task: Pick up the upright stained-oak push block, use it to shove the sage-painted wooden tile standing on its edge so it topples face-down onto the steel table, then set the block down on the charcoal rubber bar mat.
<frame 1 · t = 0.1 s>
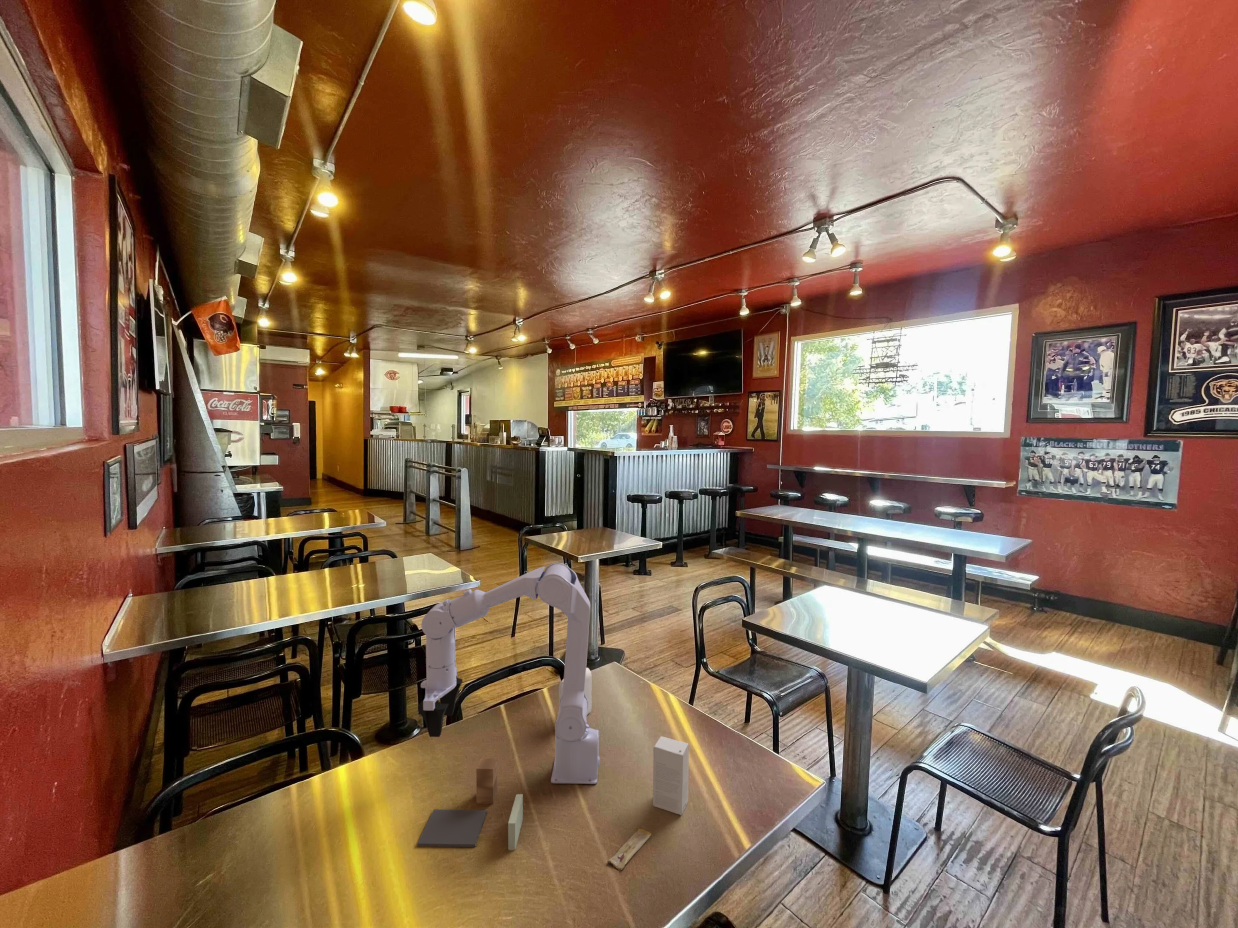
hand: (441, 724, 108), 10 cm above the table, fingers open, 7 cm apart
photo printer: (575, 719, 129), on the table
sage tile: (515, 834, 92), on the table
oak push block: (486, 797, 101), on the table
skincare box: (670, 804, 100), on the table
bar mat: (453, 828, 93), on the table
snack bar: (630, 852, 89), on the table
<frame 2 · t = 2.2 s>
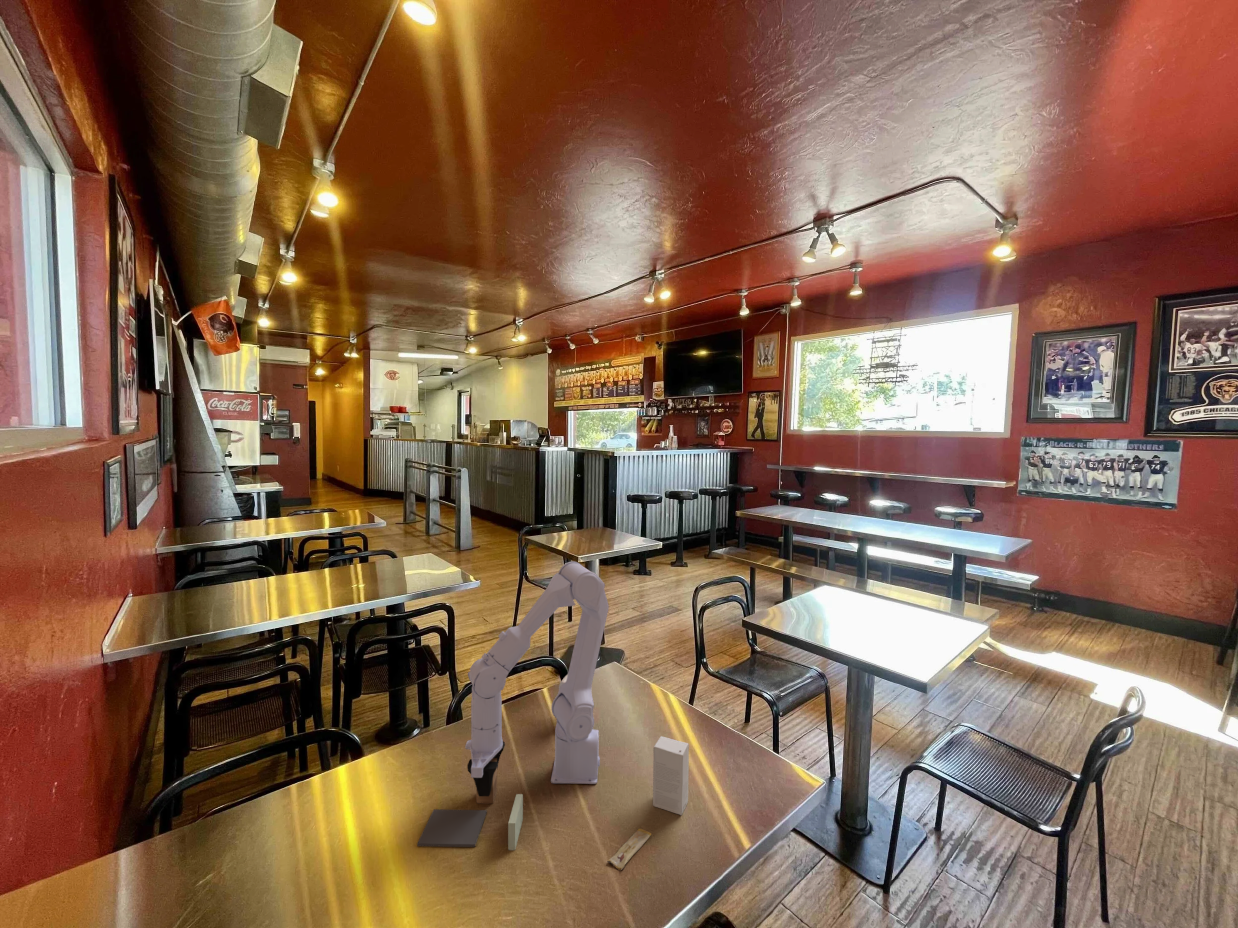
hand: (486, 787, 101), 2 cm above the table, fingers closed on oak push block, 3 cm apart
oak push block: (486, 797, 101), on the table, touching gripper
everything else where it was.
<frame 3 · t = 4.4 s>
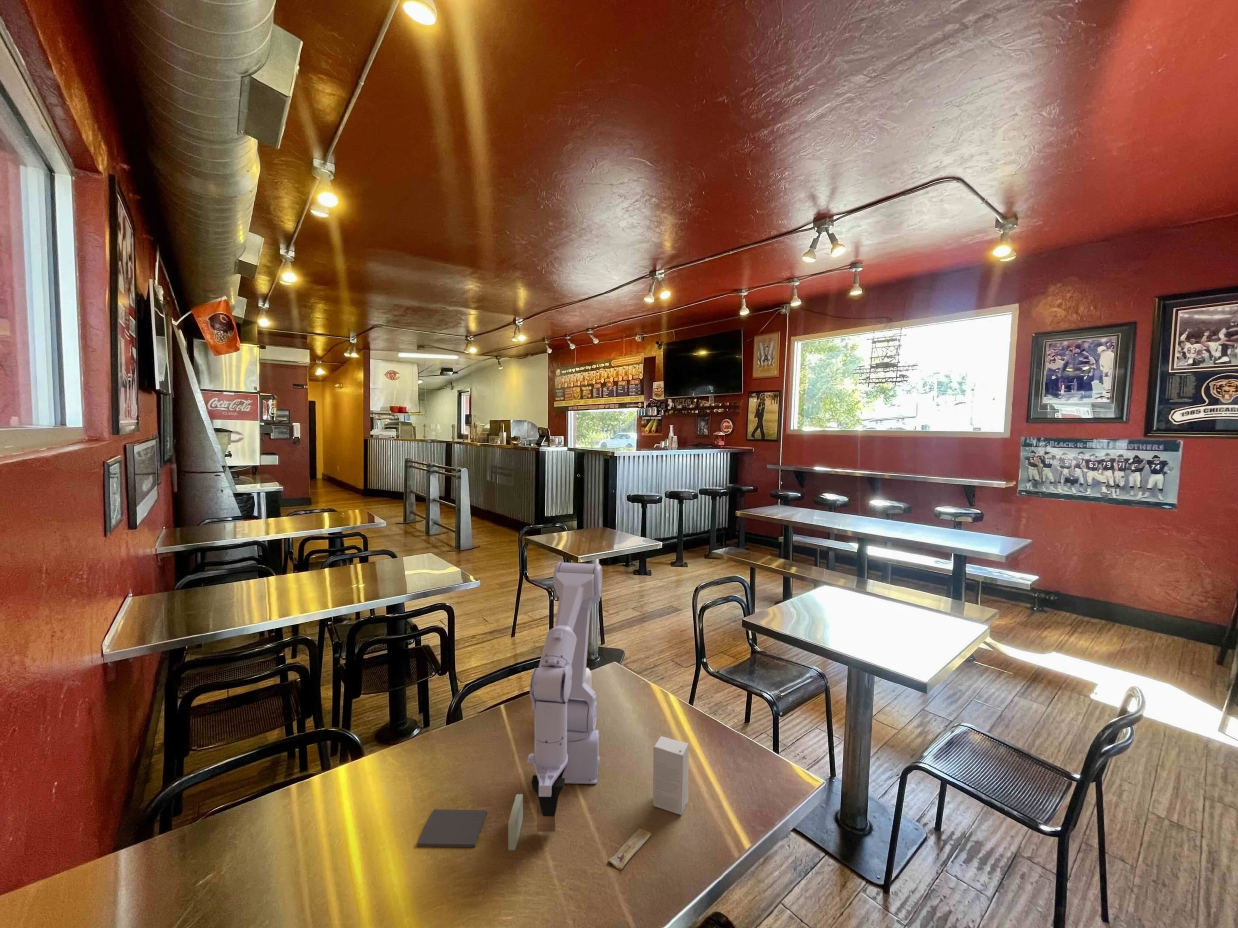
hand: (550, 806, 92), 5 cm above the table, fingers closed on oak push block, 3 cm apart
oak push block: (547, 824, 92), point 2 cm above the table, touching gripper
everything else where it was.
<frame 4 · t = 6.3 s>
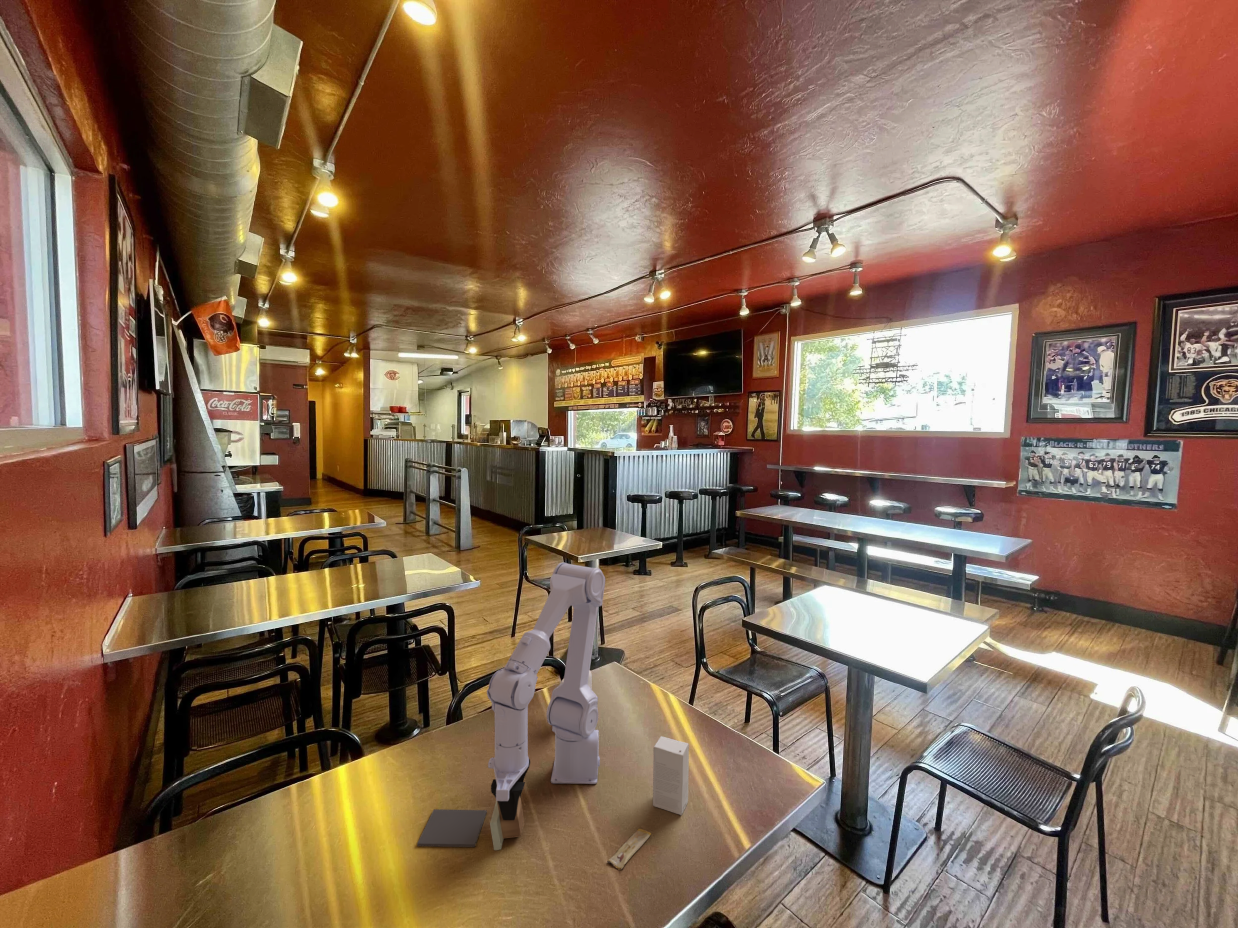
hand: (511, 810, 92), 4 cm above the table, fingers closed on oak push block, 3 cm apart
sage tile: (501, 833, 92), on the table, tilted 8°
oak push block: (513, 830, 92), point 1 cm above the table, tilted 8°, touching gripper
everything else where it was.
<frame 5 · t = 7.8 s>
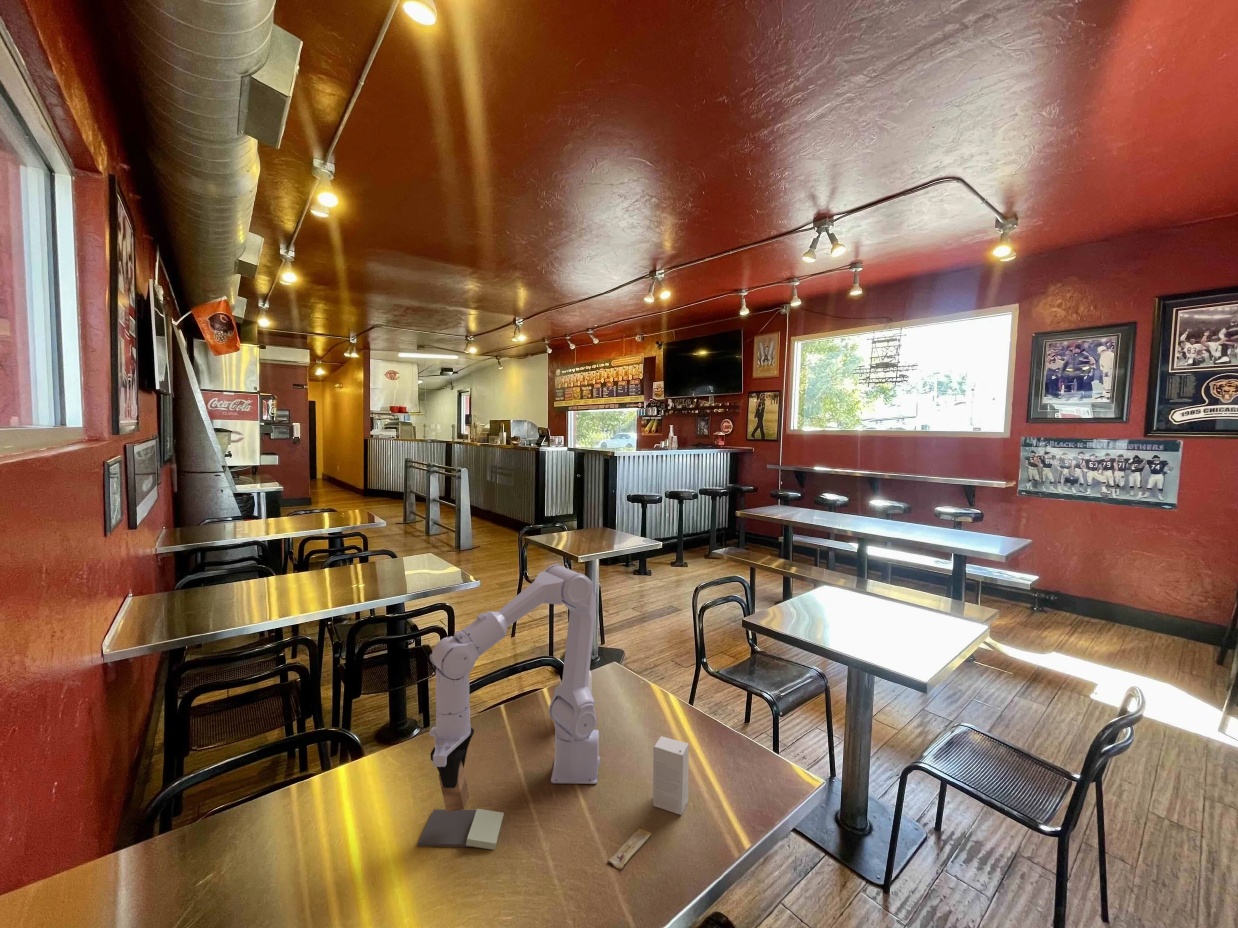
hand: (453, 779, 93), 9 cm above the table, fingers closed on oak push block, 3 cm apart
sage tile: (499, 830, 92), point 1 cm above the table, tilted 80°, touching bar mat
oak push block: (458, 804, 93), point 5 cm above the table, tilted 11°, touching gripper
everything else where it was.
when the fingers open (3 cm above the table, at t = 9.3 s): oak push block stays where it is, resting on bar mat.
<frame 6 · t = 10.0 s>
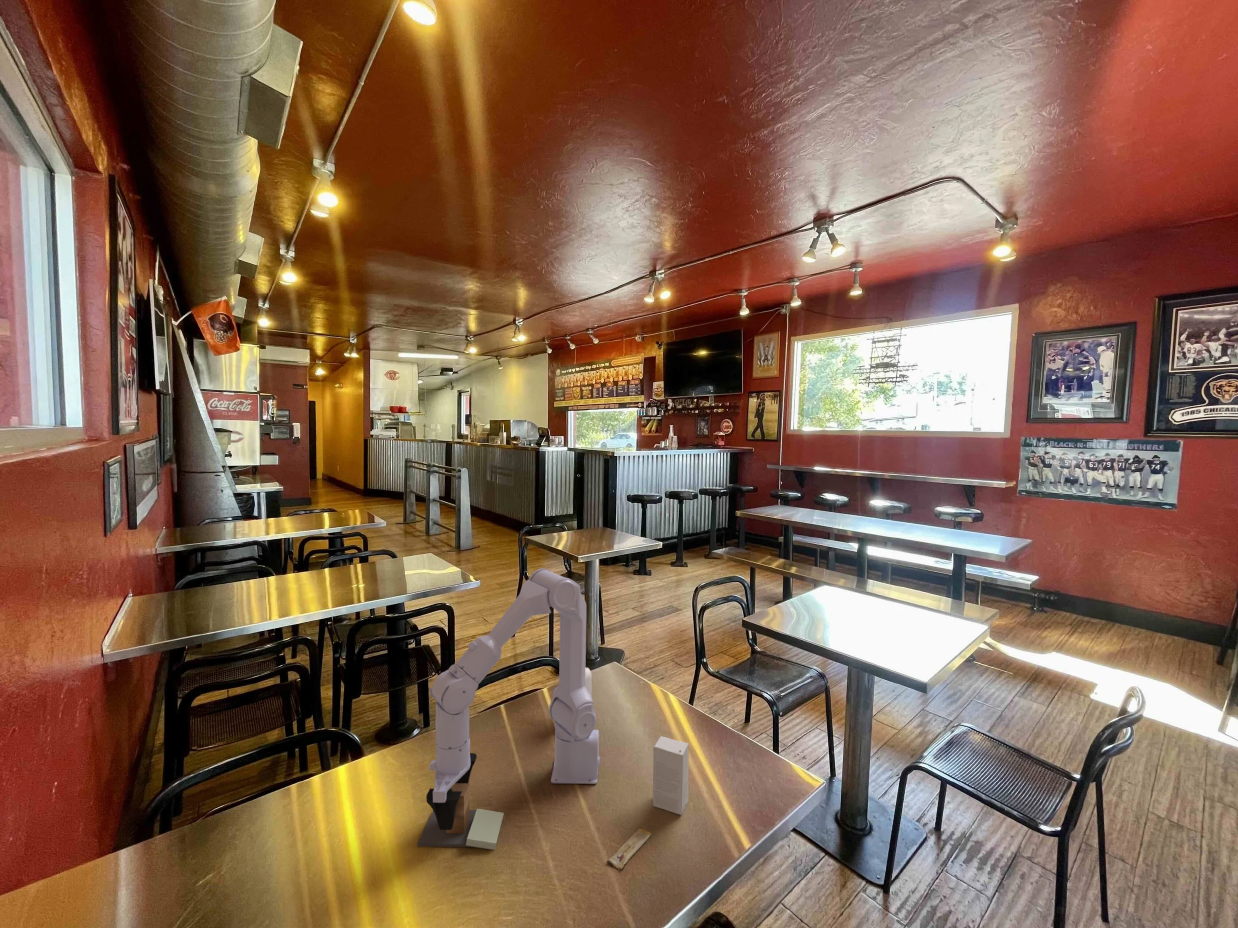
hand: (453, 811, 93), 3 cm above the table, fingers open, 7 cm apart
oak push block: (458, 826, 93), resting on bar mat
everything else where it was.
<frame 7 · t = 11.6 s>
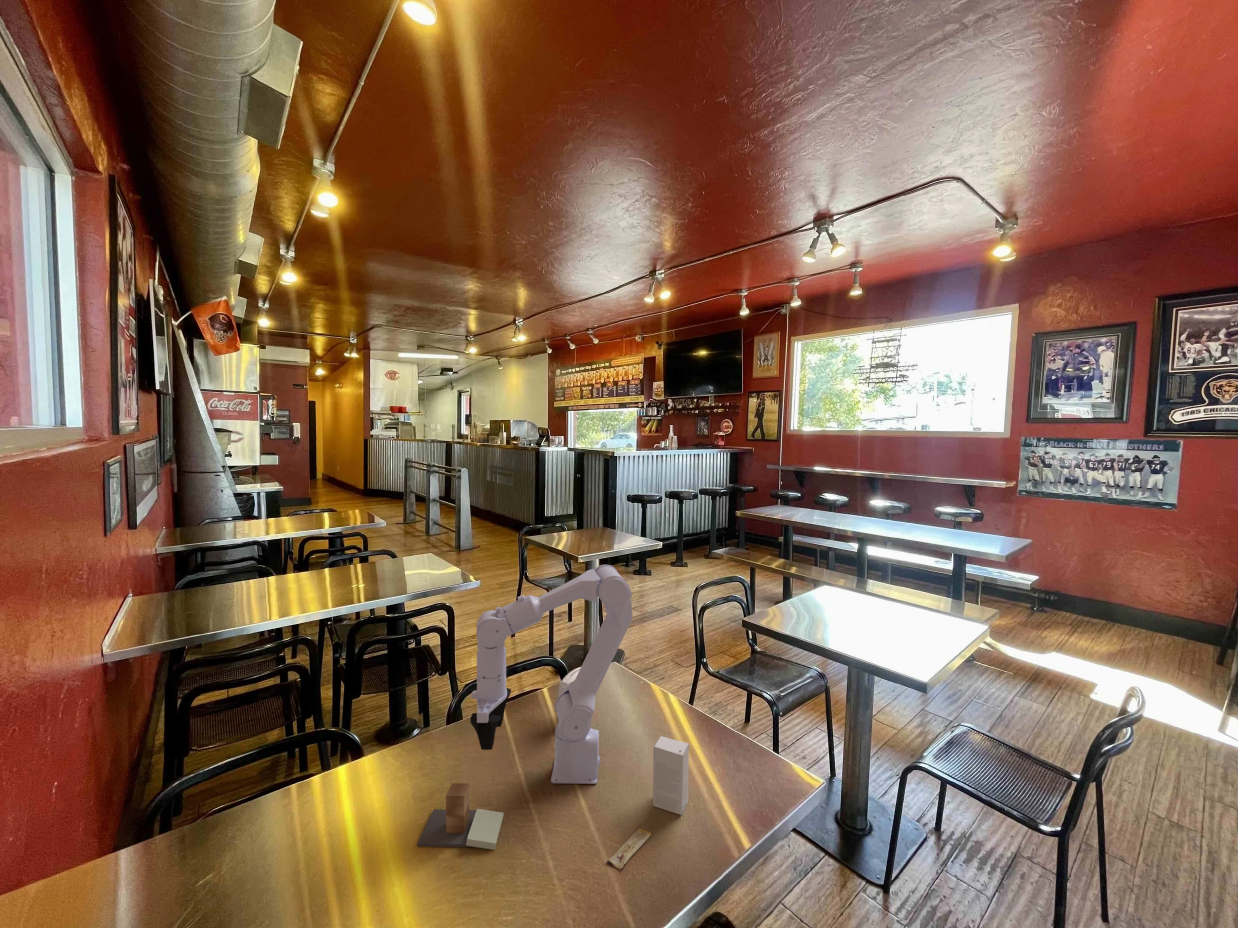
hand: (491, 736, 105), 10 cm above the table, fingers open, 7 cm apart
nothing on the table moved.
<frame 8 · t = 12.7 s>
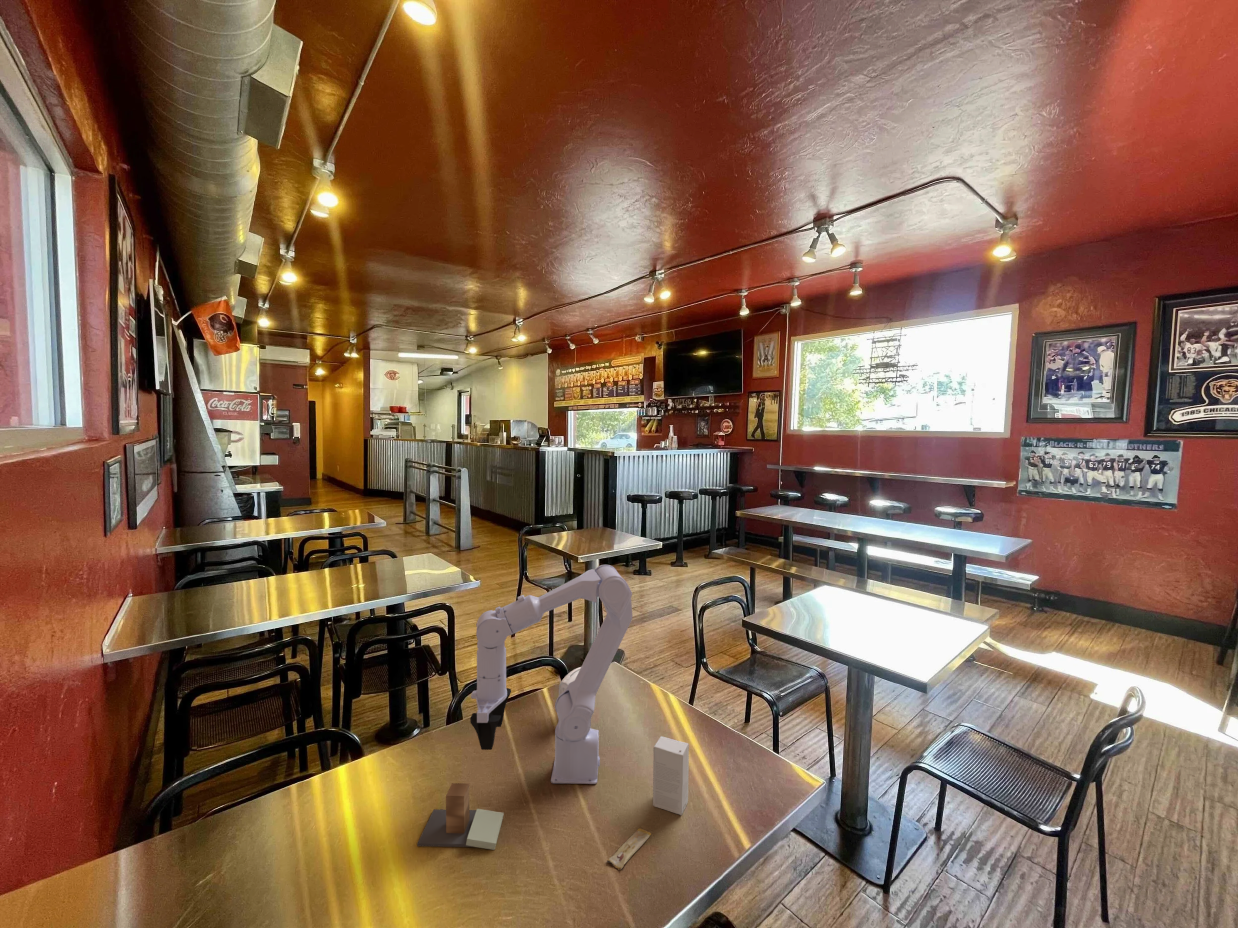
hand: (491, 736, 105), 10 cm above the table, fingers open, 7 cm apart
nothing on the table moved.
at the end: sage tile tilted 80°; oak push block inside the target area on the bar mat (0.9 cm from its centre), point 0.5 cm above the bar mat's base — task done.
